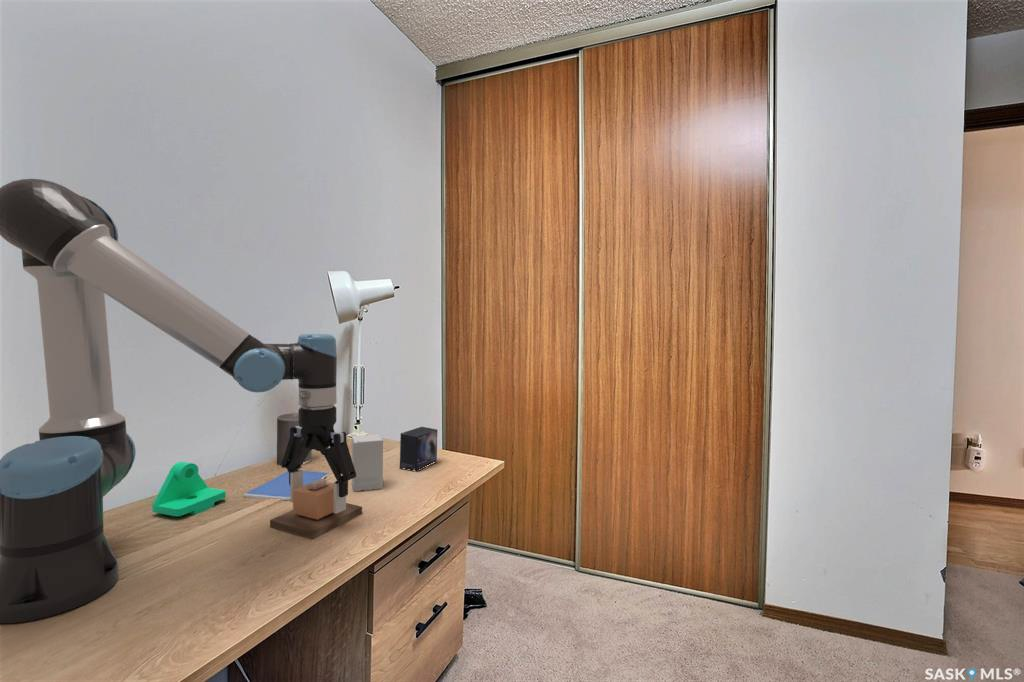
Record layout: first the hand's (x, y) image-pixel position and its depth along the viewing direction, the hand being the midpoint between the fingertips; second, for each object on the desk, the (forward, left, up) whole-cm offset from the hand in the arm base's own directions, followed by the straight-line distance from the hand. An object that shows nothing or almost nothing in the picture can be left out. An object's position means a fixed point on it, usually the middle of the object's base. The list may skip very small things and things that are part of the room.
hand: (317, 505), depth 103 cm
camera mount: (-8, +30, -4) cm, 31 cm away
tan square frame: (0, 0, -1) cm, 1 cm away
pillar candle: (+27, +38, -3) cm, 47 cm away
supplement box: (+21, +5, -3) cm, 22 cm away
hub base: (0, 0, -3) cm, 3 cm away
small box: (+41, +3, -3) cm, 41 cm away
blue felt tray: (+12, +23, -4) cm, 26 cm away
